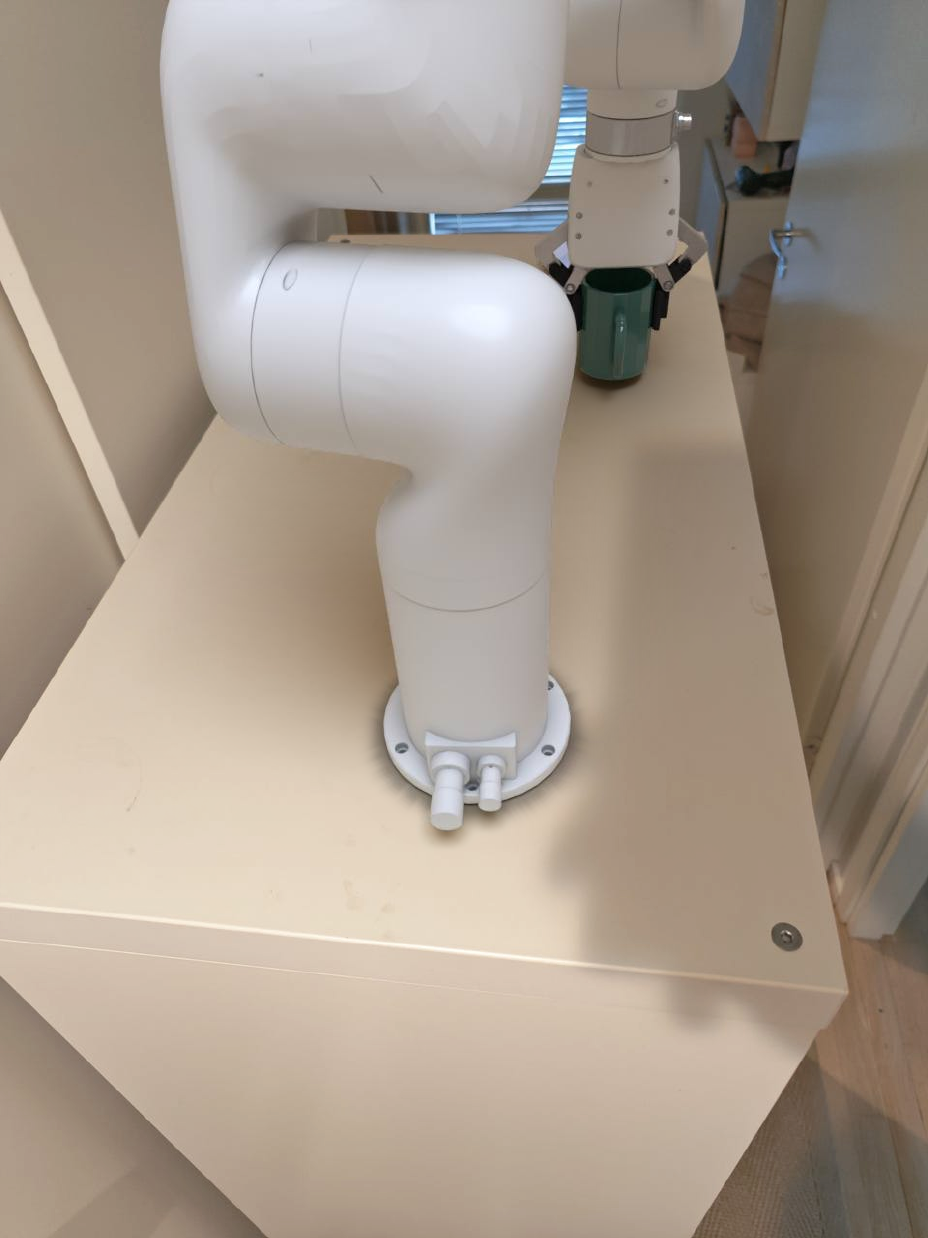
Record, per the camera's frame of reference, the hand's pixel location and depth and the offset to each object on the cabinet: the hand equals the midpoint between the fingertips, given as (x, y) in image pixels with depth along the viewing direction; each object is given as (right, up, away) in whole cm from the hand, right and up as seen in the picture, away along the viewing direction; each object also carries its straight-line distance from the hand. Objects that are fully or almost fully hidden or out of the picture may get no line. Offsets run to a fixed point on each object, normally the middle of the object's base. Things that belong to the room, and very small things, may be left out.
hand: (614, 324), depth 86 cm
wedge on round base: (0, +12, +21) cm, 24 cm away
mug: (0, -4, +2) cm, 4 cm away
